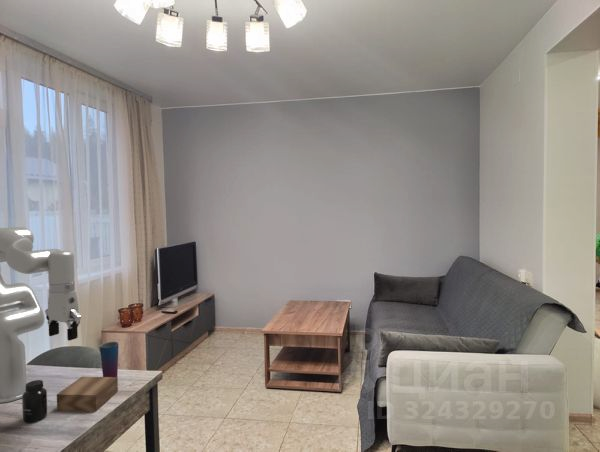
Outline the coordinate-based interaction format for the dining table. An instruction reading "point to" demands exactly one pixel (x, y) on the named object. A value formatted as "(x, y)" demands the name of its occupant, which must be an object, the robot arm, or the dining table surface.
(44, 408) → the supplement bottle
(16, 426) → the dining table surface
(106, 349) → the cup
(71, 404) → the walnut block
